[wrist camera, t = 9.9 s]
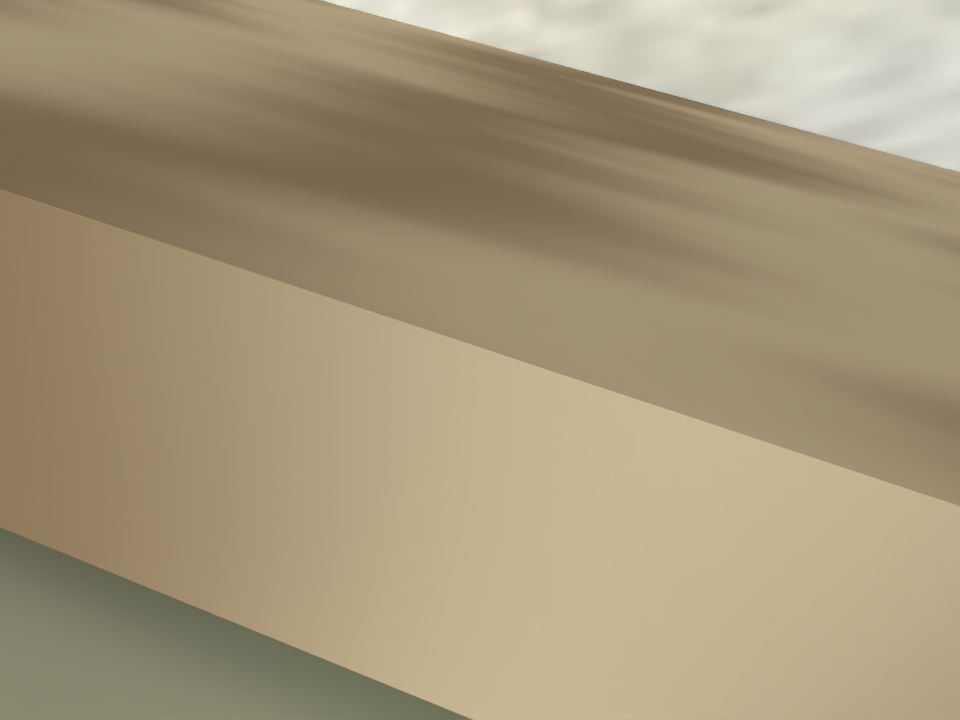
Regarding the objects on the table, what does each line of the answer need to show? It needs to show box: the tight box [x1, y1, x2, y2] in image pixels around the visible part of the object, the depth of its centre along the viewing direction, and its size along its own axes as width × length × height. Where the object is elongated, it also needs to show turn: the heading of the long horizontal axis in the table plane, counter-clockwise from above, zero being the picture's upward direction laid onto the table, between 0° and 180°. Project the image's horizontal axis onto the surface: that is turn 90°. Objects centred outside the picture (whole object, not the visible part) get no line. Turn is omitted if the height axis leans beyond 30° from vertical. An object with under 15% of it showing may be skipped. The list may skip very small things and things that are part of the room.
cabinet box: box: [0, 528, 473, 720], centre depth 8 cm, size 6×6×11 cm
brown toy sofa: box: [0, 0, 960, 720], centre depth 11 cm, size 20×6×12 cm, turn 77°
